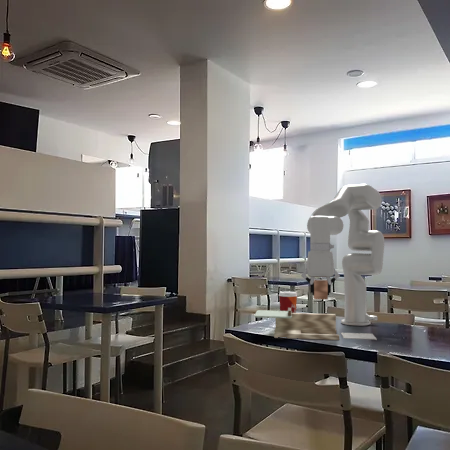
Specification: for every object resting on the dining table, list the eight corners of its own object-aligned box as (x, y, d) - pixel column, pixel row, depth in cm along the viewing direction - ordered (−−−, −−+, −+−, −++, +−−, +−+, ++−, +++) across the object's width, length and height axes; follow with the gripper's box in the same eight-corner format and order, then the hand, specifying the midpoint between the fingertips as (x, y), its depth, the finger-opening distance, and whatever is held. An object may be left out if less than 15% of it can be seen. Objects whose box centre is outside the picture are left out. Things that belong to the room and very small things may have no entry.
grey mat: (372, 335, 185) (372, 333, 185) (376, 340, 175) (376, 338, 175) (341, 334, 187) (341, 332, 187) (343, 339, 177) (343, 337, 177)
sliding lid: (291, 312, 192) (291, 306, 192) (291, 318, 177) (291, 311, 177) (257, 311, 194) (257, 305, 194) (254, 317, 179) (254, 310, 179)
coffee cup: (297, 329, 197) (297, 293, 197) (277, 328, 198) (277, 293, 199) (298, 325, 205) (298, 291, 205) (279, 325, 206) (279, 291, 207)
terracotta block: (326, 297, 184) (326, 279, 184) (327, 299, 179) (327, 281, 179) (313, 297, 185) (313, 279, 185) (314, 299, 180) (314, 280, 180)
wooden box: (335, 332, 190) (335, 314, 190) (339, 340, 174) (339, 320, 174) (275, 330, 193) (275, 312, 194) (274, 338, 177) (274, 318, 178)
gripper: (341, 247, 185) (342, 293, 184) (297, 247, 187) (298, 293, 187) (343, 248, 177) (344, 296, 177) (298, 248, 180) (298, 295, 179)
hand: (320, 294), depth 182 cm, fingers closed on terracotta block, 5 cm apart
